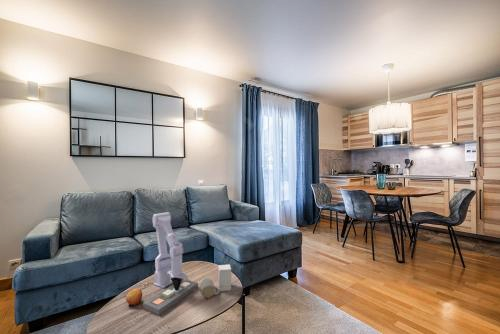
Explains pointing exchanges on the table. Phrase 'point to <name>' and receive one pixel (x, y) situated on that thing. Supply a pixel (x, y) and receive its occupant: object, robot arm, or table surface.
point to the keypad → (172, 300)
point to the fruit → (134, 296)
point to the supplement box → (224, 277)
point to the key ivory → (185, 284)
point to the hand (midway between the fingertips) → (177, 289)
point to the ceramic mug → (208, 288)
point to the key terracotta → (158, 301)
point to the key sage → (168, 294)
